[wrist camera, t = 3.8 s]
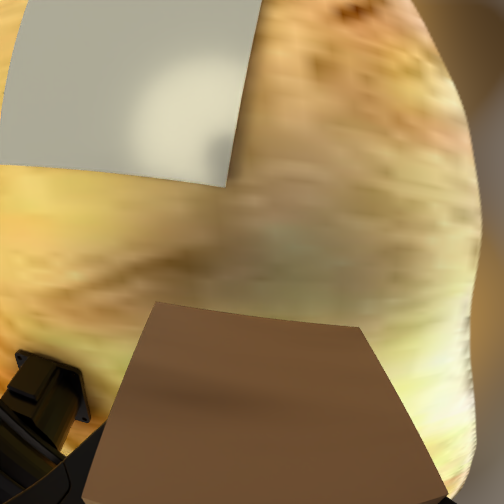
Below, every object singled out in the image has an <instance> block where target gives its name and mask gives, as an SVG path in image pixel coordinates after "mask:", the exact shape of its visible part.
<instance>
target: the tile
mask: <svg viewBox="0 0 504 504" xmlns="http://www.w3.org/2000/svg"><path fill="white" fill-rule="evenodd" d="M261 4H262V0H29V1H28V4H27V6H26V9H25V12H24V15H23V18H22V21H21V25H20V28H19V31H18V35H17V38H16V42H15V46H14V49H13V53H12V58H11V62H10V66H9V71H8V76H7V81H6V86H5V92H4V98H3V104H2V111H1V119H0V165H21V166H37V167H52V168H65V169H77V170H88V171H99V172H109V173H118V174H127V175H136V176H144V177H153V178H161V179H168V180H176V181H183V182H190V183H197V184H204V185H211V186H218V187H224V188H225V187H226V182H227V177H228V172H229V166H230V160H231V154H232V149H233V143H234V137H235V132H236V126H237V121H238V116H239V110H240V105H241V100H242V95H243V90H244V84H245V79H246V74H247V69H248V64H249V60H250V55H251V50H252V45H253V40H254V36H255V31H256V26H257V22H258V17H259V13H260V8H261Z"/></svg>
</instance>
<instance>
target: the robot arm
mask: <svg viewBox="0 0 504 504" xmlns="http://www.w3.org/2000/svg"><path fill="white" fill-rule="evenodd" d="M15 358H16V361H17V364H18V367H19V370H18V371H17V373H16V374H15V376H14V377H13V378H12V380H11V381H10V383H9V384H8V385H7V388H8V389H7V390H6V392H5V393H4V395H3V396H2V397H1V399H0V504H85V502H84V501H83V499H82V493H83V490H84V487H85V484H86V481H87V477H88V474H89V471H90V468H91V465H92V462H93V459H94V456H95V453H96V450H97V448H98V445H99V442H100V439H101V436H102V433H103V431H104V428H105V425H106V422H107V420H108V419H107V420H106V421H105V422H104V423H103V424H102V425H101V426H100V427H99V428H98V429H97V430H95V431H94V432H93V433H92V434H91V435H90V436H89V437H88V438H87V439H86V440H85V441H84V442H82V443H81V444H80V445H79V446H78V447H77V448H76V449H75V450H74V451H73V452H72V453H70V454H69V455H68V456H67V457H66V456H64V455H63V454H62V453H60V451H61V449H62V447H63V444H64V442H65V440H66V437H67V435H68V433H69V431H70V428H71V426H72V424H73V422H74V419H75V420H79V421H82V422H85V423H89V422H90V419H91V416H90V412H89V408H88V404H87V399H86V395H85V390H84V385H83V380H82V375H81V372H80V371H79V370H78V369H76V368H73V367H70V366H66V365H63V364H59V363H56V362H53V361H50V360H47V359H44V358H41V357H38V356H35V355H32V354H29V353H26V352H23V351H20V350H18V351H17V352H16V353H15ZM438 504H457V503H455V502H454V501H452V500H451V499H449V498H448V497H444V498H443V499H442V500H441V501H440V502H439V503H438Z"/></svg>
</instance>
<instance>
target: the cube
mask: <svg viewBox="0 0 504 504" xmlns="http://www.w3.org/2000/svg"><path fill="white" fill-rule="evenodd" d="M448 494H449V493H448V491H447V489H446V487H445V485H444V483H443V481H442V479H441V477H440V475H439V473H438V471H437V469H436V467H435V465H434V463H433V461H432V459H431V457H430V455H429V453H428V451H427V449H426V447H425V445H424V443H423V441H422V439H421V437H420V435H419V433H418V431H417V429H416V428H415V426H414V424H413V422H412V420H411V418H410V416H409V414H408V413H407V411H406V409H405V407H404V405H403V403H402V401H401V400H400V398H399V396H398V394H397V392H396V391H395V389H394V387H393V385H392V383H391V382H390V380H389V378H388V376H387V375H386V373H385V371H384V369H383V367H382V366H381V364H380V362H379V360H378V359H377V357H376V355H375V354H374V352H373V350H372V348H371V347H370V345H369V343H368V342H367V340H366V338H365V336H364V335H363V333H362V331H361V330H360V328H359V327H348V326H337V325H326V324H316V323H306V322H296V321H287V320H279V319H270V318H262V317H254V316H246V315H239V314H232V313H224V312H218V311H211V310H204V309H198V308H191V307H185V306H179V305H173V304H167V303H161V302H156V303H155V305H154V307H153V309H152V311H151V314H150V316H149V318H148V321H147V323H146V325H145V327H144V330H143V332H142V334H141V337H140V339H139V341H138V344H137V346H136V349H135V351H134V353H133V356H132V358H131V361H130V363H129V366H128V368H127V370H126V373H125V375H124V378H123V380H122V383H121V386H120V388H119V391H118V393H117V396H116V398H115V401H114V404H113V406H112V409H111V412H110V414H109V417H108V420H107V422H106V425H105V428H104V431H103V433H102V436H101V439H100V442H99V445H98V448H97V450H96V453H95V456H94V459H93V462H92V465H91V468H90V471H89V474H88V477H87V481H86V484H85V487H84V490H83V493H82V499H83V501H84V502H85V504H438V503H439V502H440V501H441V500H442V499H443V498H444V497H446V496H447V495H448Z"/></svg>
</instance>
